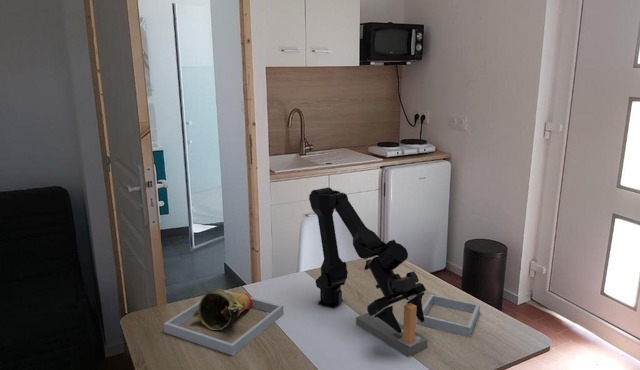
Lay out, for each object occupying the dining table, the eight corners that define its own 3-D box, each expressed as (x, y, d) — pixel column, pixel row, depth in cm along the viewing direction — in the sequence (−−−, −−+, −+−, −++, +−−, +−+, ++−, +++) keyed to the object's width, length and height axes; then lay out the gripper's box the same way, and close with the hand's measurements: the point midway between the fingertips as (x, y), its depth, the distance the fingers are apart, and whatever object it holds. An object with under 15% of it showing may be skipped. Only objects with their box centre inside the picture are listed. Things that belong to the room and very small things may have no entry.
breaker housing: (356, 324, 146) (356, 316, 145) (374, 316, 151) (375, 309, 150) (407, 357, 129) (408, 348, 129) (427, 346, 134) (427, 338, 133)
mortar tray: (164, 332, 142) (163, 323, 141) (220, 296, 164) (219, 289, 164) (232, 355, 130) (232, 346, 129) (283, 314, 152) (283, 305, 152)
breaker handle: (397, 340, 132) (398, 304, 129) (408, 335, 135) (409, 300, 132) (409, 347, 129) (410, 311, 126) (420, 342, 131) (422, 306, 129)
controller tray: (416, 323, 146) (417, 315, 145) (430, 302, 160) (431, 294, 159) (469, 337, 139) (470, 327, 138) (479, 313, 152) (480, 304, 152)
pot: (266, 281, 155) (232, 286, 137) (272, 318, 152) (237, 328, 135) (221, 289, 162) (183, 295, 145) (225, 325, 160) (187, 335, 142)
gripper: (375, 272, 124) (404, 328, 119) (422, 256, 135) (451, 306, 129) (355, 289, 132) (381, 342, 126) (401, 272, 143) (428, 320, 137)
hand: (412, 327), depth 130 cm, fingers open, 9 cm apart
